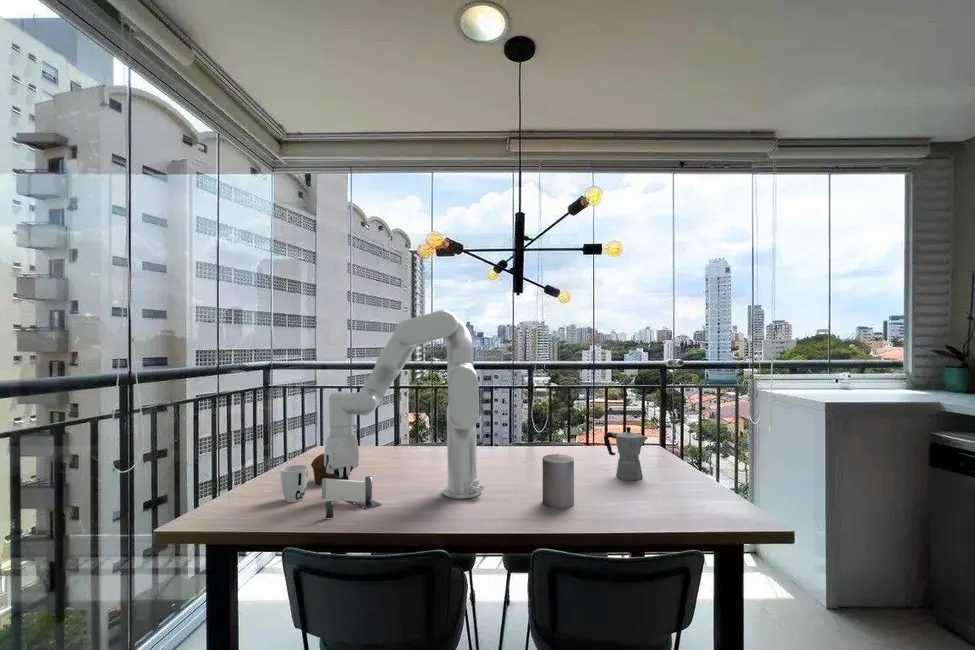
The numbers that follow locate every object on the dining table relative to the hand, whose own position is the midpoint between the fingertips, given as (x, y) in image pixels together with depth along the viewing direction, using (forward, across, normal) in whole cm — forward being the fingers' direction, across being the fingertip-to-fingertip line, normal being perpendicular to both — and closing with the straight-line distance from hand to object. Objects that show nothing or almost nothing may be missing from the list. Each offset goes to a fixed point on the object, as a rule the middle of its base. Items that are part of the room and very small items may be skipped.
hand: (342, 488), depth 155 cm
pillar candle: (+4, -42, +53) cm, 68 cm away
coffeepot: (+5, -82, +55) cm, 98 cm away
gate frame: (+3, +4, +3) cm, 6 cm away
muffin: (+3, -6, -21) cm, 22 cm away
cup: (+3, +11, -11) cm, 16 cm away
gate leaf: (+2, +2, +3) cm, 4 cm away
